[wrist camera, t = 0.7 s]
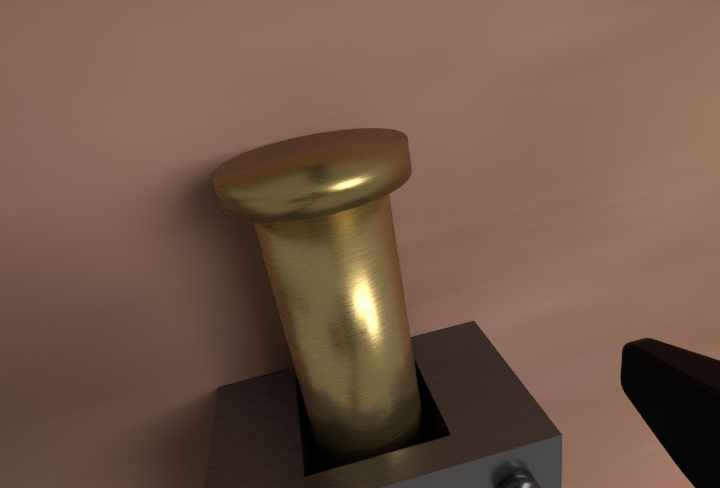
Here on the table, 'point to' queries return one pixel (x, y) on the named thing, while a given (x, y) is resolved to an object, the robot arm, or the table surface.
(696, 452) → the robot arm
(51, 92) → the table surface
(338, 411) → the brass cylinder
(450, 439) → the housing
